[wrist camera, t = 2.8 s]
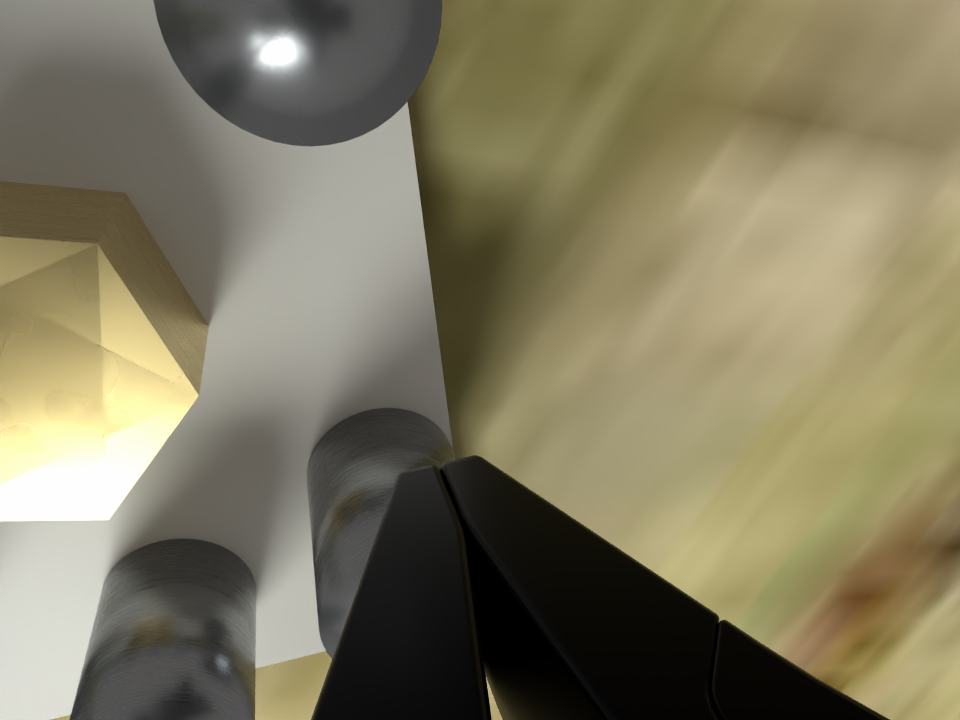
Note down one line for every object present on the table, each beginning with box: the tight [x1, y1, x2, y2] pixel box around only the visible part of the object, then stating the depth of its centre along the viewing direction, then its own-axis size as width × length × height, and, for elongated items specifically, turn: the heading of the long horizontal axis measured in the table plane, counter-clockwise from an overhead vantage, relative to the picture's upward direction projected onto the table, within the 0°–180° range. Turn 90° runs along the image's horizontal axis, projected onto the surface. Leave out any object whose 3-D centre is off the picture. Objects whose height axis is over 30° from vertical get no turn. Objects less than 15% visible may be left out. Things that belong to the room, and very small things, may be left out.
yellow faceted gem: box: [0, 181, 209, 521], centre depth 12 cm, size 4×5×2 cm
